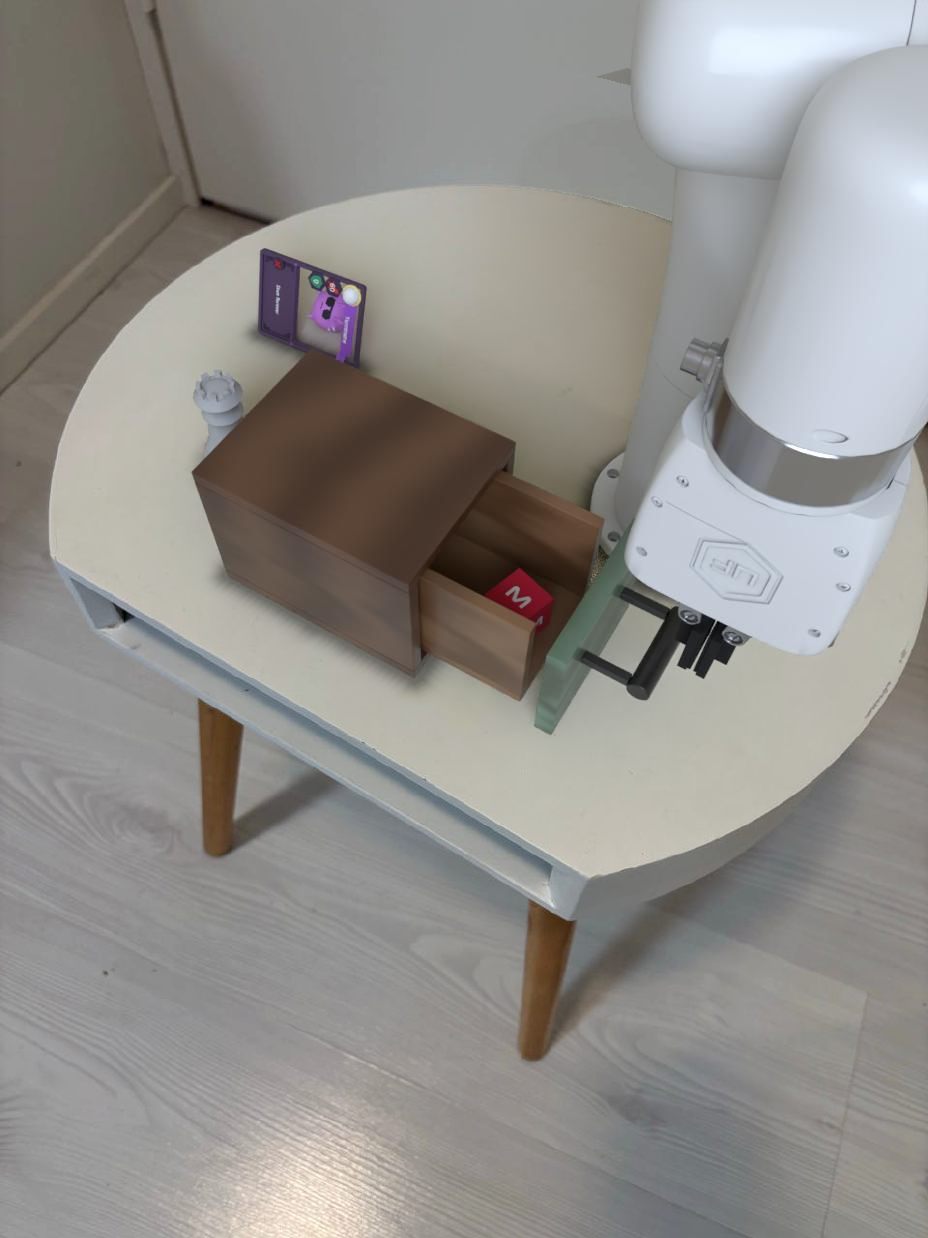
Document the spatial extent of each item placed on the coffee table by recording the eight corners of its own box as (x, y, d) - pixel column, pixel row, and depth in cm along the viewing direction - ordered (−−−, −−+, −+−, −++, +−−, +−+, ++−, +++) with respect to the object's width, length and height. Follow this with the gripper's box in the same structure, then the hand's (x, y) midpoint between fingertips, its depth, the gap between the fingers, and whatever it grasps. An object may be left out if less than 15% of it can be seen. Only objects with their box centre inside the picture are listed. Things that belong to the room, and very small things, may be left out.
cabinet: (507, 547, 66) (516, 441, 57) (414, 678, 61) (408, 585, 52) (329, 460, 70) (311, 347, 61) (227, 576, 65) (190, 471, 55)
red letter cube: (549, 624, 61) (554, 598, 58) (515, 651, 59) (518, 627, 57) (516, 593, 62) (519, 567, 59) (482, 620, 61) (483, 594, 58)
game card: (254, 250, 71) (359, 290, 69) (293, 233, 75) (394, 269, 73) (252, 335, 76) (350, 374, 74) (289, 314, 80) (384, 351, 78)
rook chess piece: (258, 493, 68) (236, 414, 61) (197, 482, 69) (169, 403, 62) (276, 446, 70) (258, 364, 64) (218, 436, 71) (193, 354, 64)
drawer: (689, 637, 61) (723, 557, 54) (615, 770, 57) (641, 704, 49) (449, 519, 66) (449, 430, 58) (362, 633, 61) (350, 553, 54)
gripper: (588, 400, 37) (546, 641, 52) (979, 570, 33) (807, 775, 49) (671, 287, 40) (608, 545, 56) (1033, 429, 36) (856, 663, 52)
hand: (701, 652), depth 52 cm, fingers closed
